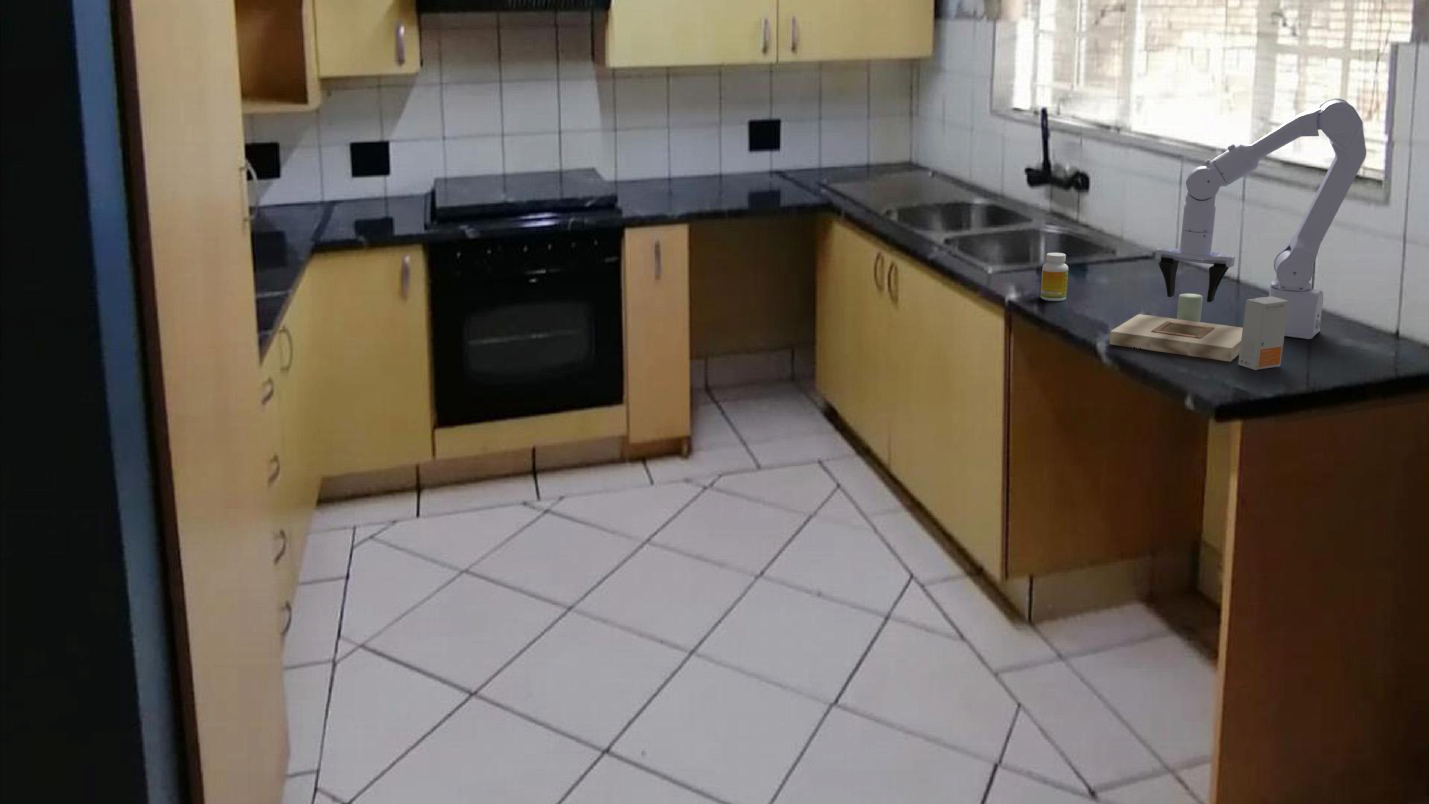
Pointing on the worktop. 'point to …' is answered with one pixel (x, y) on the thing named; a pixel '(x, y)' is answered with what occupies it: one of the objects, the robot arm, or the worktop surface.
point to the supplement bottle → (1054, 277)
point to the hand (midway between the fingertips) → (1190, 298)
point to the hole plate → (1179, 337)
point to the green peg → (1190, 307)
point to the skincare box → (1263, 332)
